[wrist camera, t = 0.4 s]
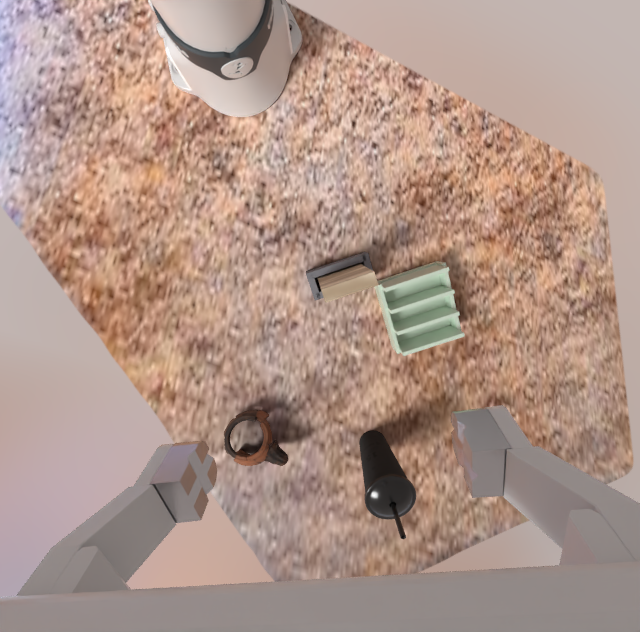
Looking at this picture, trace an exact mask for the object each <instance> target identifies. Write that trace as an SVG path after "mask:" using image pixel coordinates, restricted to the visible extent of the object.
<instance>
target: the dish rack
mask: <svg viewBox="0 0 640 632" xmlns="http://www.w3.org/2000/svg"><path fill="white" fill-rule="evenodd" d="M448 271H450V270H449V267H447V266H446V263H445V262H440V261H435V262H432V263H429V264H426V265H423V266H420V267H417V268H414V269H411V270H408V271H405V272H402V273H399V274H396V275H393V276H390V277H387V278H384V279H381V280H378V281H377V282H378V286H375V290H376V293H377V297H378V300H379V304H380V307H381V310H382V314H383V317H384V321H385V324H386V328H387V331H388V335H389V338H390V342H391V345H392V348H393V349H394V350H395V351H396V353H397V354H399V353H402V355H403V356H405V355H408V354H411V353H415V352H418V351H421V350H424V349H427V348H430V347H433V346H436V345H439V344H442V343H445V342H448V341H452V340H455V339H458V338H461V337H464V333H463V332H462V331H461V327H460V323H459V318H458V316H459V315H460V314H459V311H457V310H456V305H455V301H454V296H453V294H455V292H454V289H452V288H451V283H450V279H449V274H448Z"/></svg>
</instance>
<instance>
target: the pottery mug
mask: <svg viewBox="0 0 640 632" xmlns="http://www.w3.org/2000/svg"><path fill="white" fill-rule="evenodd" d="M267 417H269V414H268V413H266V412H265V411H263V410H259V411H258V410H250V411H246V412H243V413H240V414H238V415H237V416H236V418H234V419H232V420H231V421H230V423H229V424H228V426H227V428H226V429H225V431H224V436H225V450H226V452H227V453H228V454H230V455H231V456H232V457H234V458H235V459H234V461H235V462H237V463H239V464H241V465H245V466H252V465H257V464H260V463H262V462H263V461H268V462H270V463H273V464H277V465H280V466H283V465H285V464H286V463H287V461H288V455H287V454H286V453H285V452H284V451H283V450H282V449H281V448H280V447H279V445H278V442H277V440H274V443H273V444H272V445H271V446H270V447H269V444H271V443H272V432H271V429H270V425H269V423H268V421H267V420H266V418H267ZM245 420H251V421H255V420H258V421H259V422H260V423H261V425H260V426H261V428H262V430H263V433H264V440H263V444H262V446H261V448H260V449H259V450H258V451H257V452H256V453H254V454H252V455H251V454H248V453H246V452H244V451H243V450H241V449H240V450H239V451H237V452H235V451H234V450H233V448H232V447H231V444H230V434H231V431H232V429H233V428H234V427H235V426H236V425H237V424H238V423H240V422H242V421H245Z"/></svg>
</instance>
